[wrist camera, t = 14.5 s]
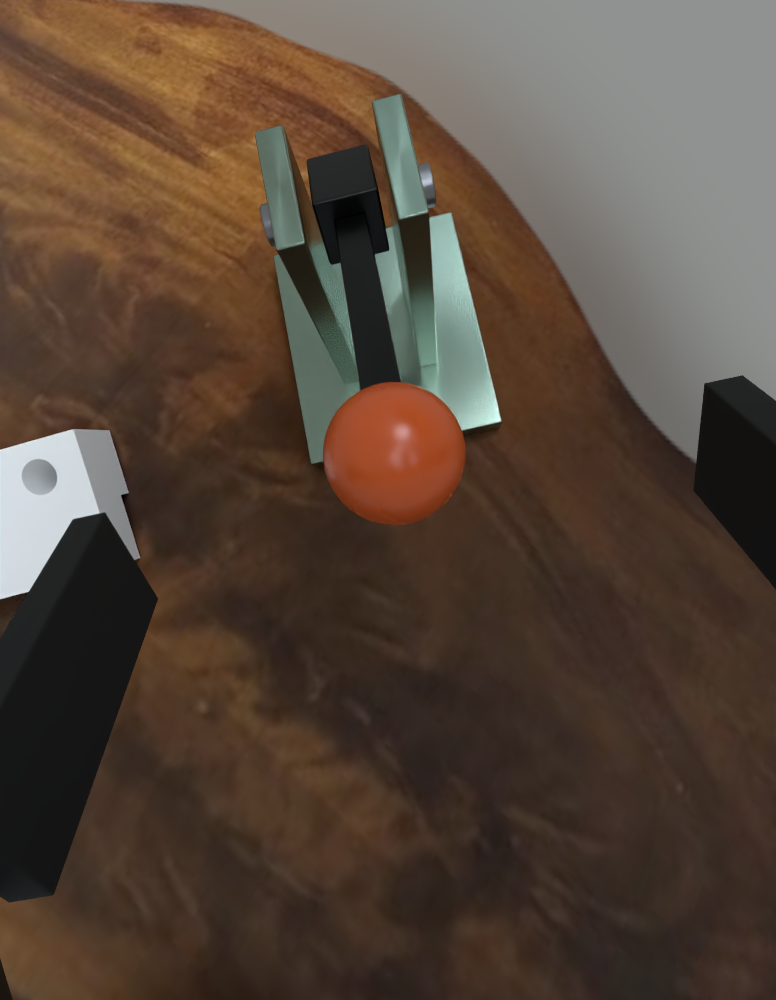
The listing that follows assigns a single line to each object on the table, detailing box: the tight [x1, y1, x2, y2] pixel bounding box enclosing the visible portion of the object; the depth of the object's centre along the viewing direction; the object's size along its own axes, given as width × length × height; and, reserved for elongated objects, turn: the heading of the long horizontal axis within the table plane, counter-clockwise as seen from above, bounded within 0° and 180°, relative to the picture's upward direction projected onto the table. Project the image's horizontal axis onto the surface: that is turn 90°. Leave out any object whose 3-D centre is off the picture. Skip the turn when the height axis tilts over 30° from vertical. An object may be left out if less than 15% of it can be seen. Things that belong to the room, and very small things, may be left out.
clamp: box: [255, 94, 502, 468], centre depth 26 cm, size 12×10×14 cm
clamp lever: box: [307, 145, 465, 525], centre depth 18 cm, size 14×4×4 cm, turn 11°
